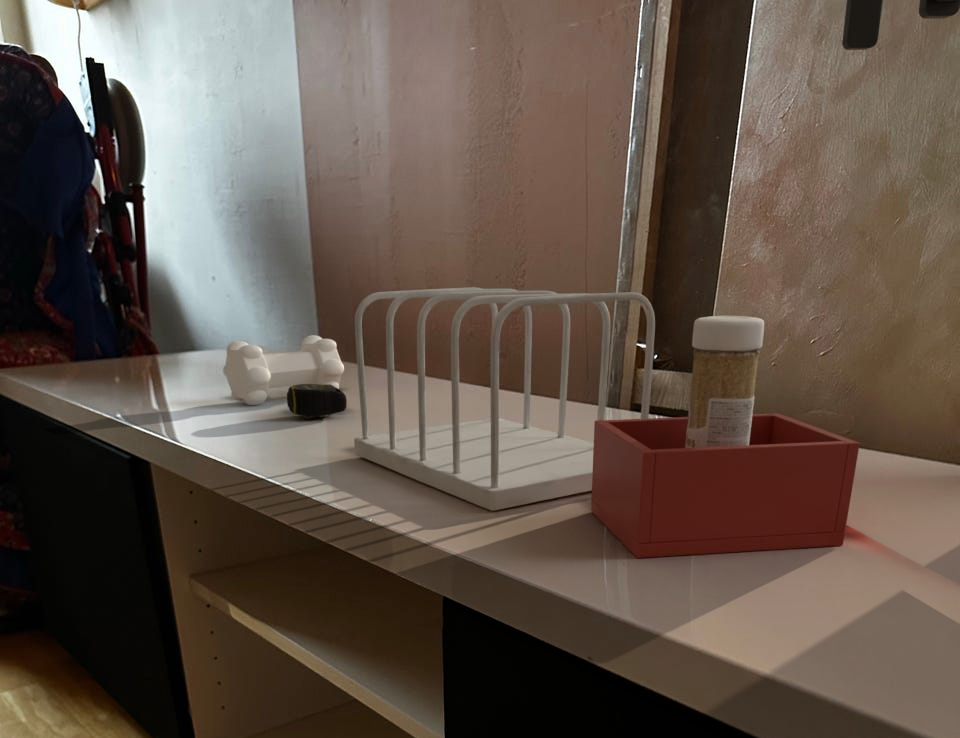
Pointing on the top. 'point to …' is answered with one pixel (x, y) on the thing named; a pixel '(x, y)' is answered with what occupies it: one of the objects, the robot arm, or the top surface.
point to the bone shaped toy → (280, 368)
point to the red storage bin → (721, 487)
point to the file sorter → (491, 442)
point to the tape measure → (315, 400)
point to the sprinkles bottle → (723, 380)
